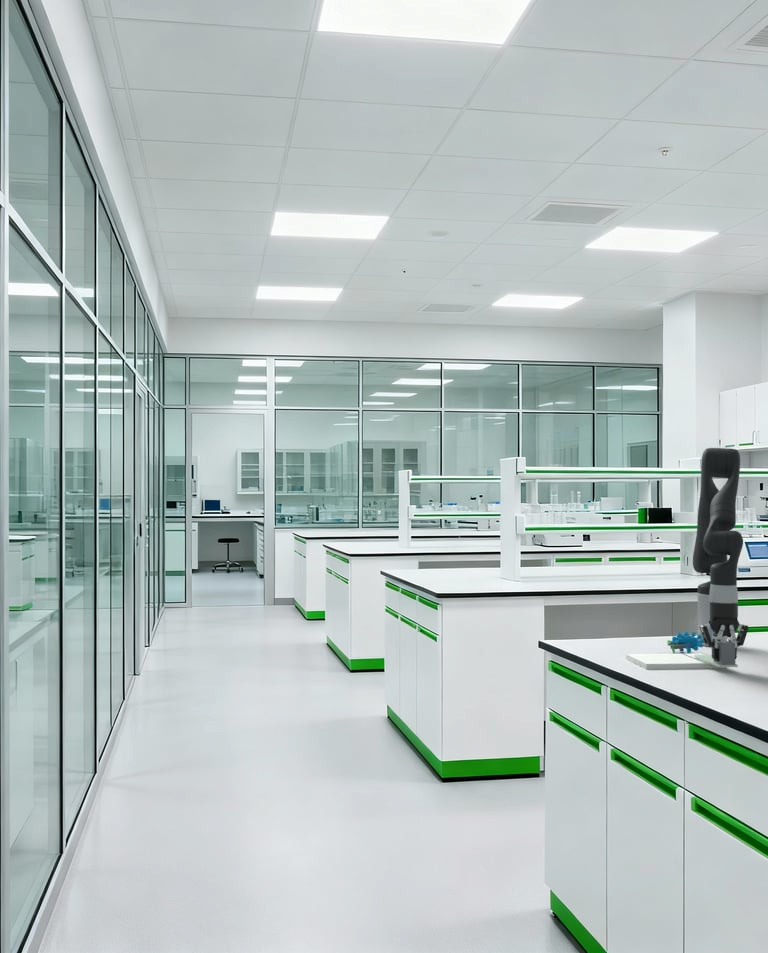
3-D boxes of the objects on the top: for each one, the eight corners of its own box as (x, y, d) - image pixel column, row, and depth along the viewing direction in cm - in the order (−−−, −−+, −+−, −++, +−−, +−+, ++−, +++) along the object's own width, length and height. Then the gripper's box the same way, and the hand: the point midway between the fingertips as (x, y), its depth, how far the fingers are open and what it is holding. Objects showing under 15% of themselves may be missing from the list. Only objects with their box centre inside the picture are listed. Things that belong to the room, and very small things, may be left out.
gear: (705, 647, 276) (701, 628, 270) (707, 662, 272) (704, 643, 266) (669, 650, 280) (665, 631, 274) (670, 665, 276) (666, 646, 270)
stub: (694, 657, 258) (694, 634, 258) (711, 656, 259) (711, 634, 259) (719, 667, 242) (719, 643, 243) (737, 667, 243) (737, 643, 243)
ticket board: (626, 659, 264) (626, 653, 264) (701, 658, 266) (701, 653, 266) (646, 669, 248) (646, 663, 248) (726, 668, 250) (726, 662, 250)
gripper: (741, 598, 250) (741, 658, 249) (693, 599, 249) (694, 658, 248) (754, 601, 242) (754, 663, 242) (705, 602, 241) (706, 663, 241)
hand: (724, 660), depth 245 cm, fingers closed on stub, 4 cm apart
